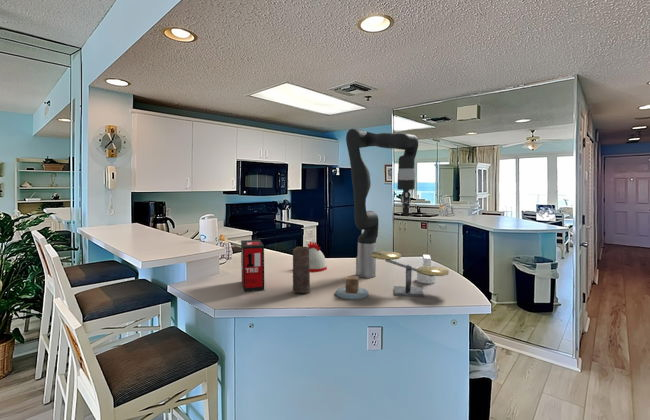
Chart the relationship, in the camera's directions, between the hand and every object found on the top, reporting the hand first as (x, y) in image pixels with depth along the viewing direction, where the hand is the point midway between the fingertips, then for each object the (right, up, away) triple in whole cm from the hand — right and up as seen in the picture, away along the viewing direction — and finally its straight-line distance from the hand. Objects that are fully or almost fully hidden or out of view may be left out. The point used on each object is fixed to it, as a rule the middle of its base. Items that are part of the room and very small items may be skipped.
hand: (405, 215), depth 158 cm
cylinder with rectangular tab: (+13, -33, +12) cm, 37 cm away
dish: (-25, -34, -9) cm, 43 cm away
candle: (-47, -34, -6) cm, 58 cm away
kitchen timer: (-42, -31, +35) cm, 63 cm away
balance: (0, -34, -6) cm, 34 cm away
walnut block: (-25, -33, -9) cm, 42 cm away
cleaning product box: (-70, -33, +3) cm, 77 cm away
